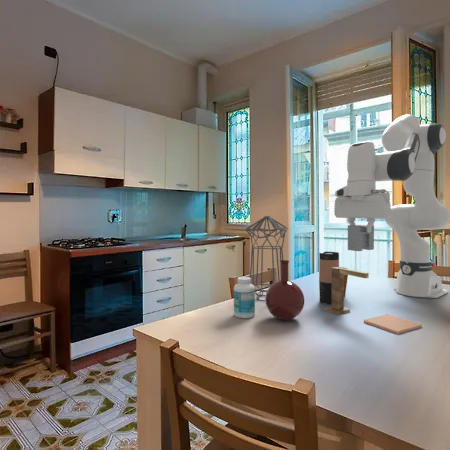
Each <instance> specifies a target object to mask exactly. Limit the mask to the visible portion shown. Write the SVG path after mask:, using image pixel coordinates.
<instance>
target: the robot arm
mask: <svg viewBox="0 0 450 450" xmlns="http://www.w3.org/2000/svg"><path fill="white" fill-rule="evenodd" d="M446 138H447V133H446V129H445V127H444V125H442V124H441V123H430V124H421V122H420V119H419V118H418V117H417V116H416V115H414V114H404V115H401V116H398V117H397V118H396V119H395V120H393V121H392V122H391V123H390V124H389V125H388V126H387V128H386V129H385V130H384V131H383V134H382V136H381V144H382V146H383V149H385V150H386V152H381V153H380V152H379V153H377V152H376V150H375V149H376V148H375V144H374V142H373V141H369V140H367V141H363V142H355V143H352V144H350V146H349V147H348V152H347V158H346V159H347V160H346V161H347V162H346V166H347V167H346V168H347V169H346V171H347V173H348V174H347V176H348V177H347V181H346V185H345V186H343V187H342V188H339V189H337V190H335V192H334V196H335V197H336V198H335V199H334V216H335V218H337V219H340V218H341V219H342V218H343V219H347V223H348V225H356V223H355V222H356V219H366V222H367V224H366V225H367V226H366V227H364V232H371V230H372V226H373V225H374V224H375V221H376V219H378V220H379V219H380V220H381V219H384V220H385V222H386V224H387V226H388V227H390V228H391V229H392V230H393V231H394V232H395V234H396V236H397V239H398V241H399V245H400V248H399V249H400V260H399V265H398V266H399V270H398V271H397V274H396V275H397V277H396V283H395V284H396V286H394V287H393V290H395V292H396V293H397V294H400V295H402V296H407V297H414V298H429V299H431V298H432V299H437V298H440V297H443V296H444V295H446V294H448V293H449V291H448V289H445V288H443V287H442V286H443V282H442V279H441V277H439V276H438V275H437V274H436V272H434V271H433V267H436V265H437V264H436V262H435V261H431V245H430V243H429V242H428V241H427V240H426V239H425V238H423V237H421V236H420V235H419V233H418V230H420V231H421V230H422V231H423V230H426V231H433V230H434V231H435V230H442V229H445V228H446V227H447V226H448V224H449V222H450V210H449V209H448V208H447V207H446V206H445V205H444V204H442V203H441V202H440V200H439V199H438V198H437V197H436V193H435V190H434V184H435V183H434V182H435V181H434V180H435V154H436V153H437V152H438V151H440V150H441V148H442V147H443V146H444V145H445V143H446ZM389 181H391V182H393V181H395V182H397V181H399V182H403V190H404V191H405V193H407V194H408V195H409V196H411V197H413V198H414V201H415V203H412V204H411V203H410V204H409V203H406V204H405V203H404V204H402V203H400V204H396V205H392V206H391V200H390V199H391V196H390V195H391V194H390V192H389V191H388V190H386V189H384V188H383V189H382V188H381V189H377V188H376V187H377V185H376V183H377V182H389Z"/></svg>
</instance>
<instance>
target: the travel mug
mask: <svg viewBox="0 0 450 450" xmlns="http://www.w3.org/2000/svg"><path fill="white" fill-rule="evenodd" d="M318 254H319V257H318V260H319V261H318V263H319V264H318V267H319V268H318V270H319V271H318V286H319V287H318V289H319V290H318V291H319V303H321V304H322V305H326V306H327V305H328V306H332V267H340V253H339V252H337V251H324V252H319V253H318Z"/></svg>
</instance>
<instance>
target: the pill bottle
mask: <svg viewBox="0 0 450 450" xmlns="http://www.w3.org/2000/svg"><path fill="white" fill-rule="evenodd" d="M250 282H251V283H250ZM254 285H255V284H254ZM254 285H253V284H252V277H251V278H250V276H239V277H237V283H236V284H235V285H234V286H233V315H234V316H235V318H239V319H251V318H253V317H255V316H256V315H255V314H256V294H255V289H256V288H255V287H256V286H255V287H254Z"/></svg>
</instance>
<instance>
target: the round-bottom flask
mask: <svg viewBox="0 0 450 450" xmlns="http://www.w3.org/2000/svg"><path fill="white" fill-rule="evenodd" d="M280 263H281V276H280V281H276V282H275V281H274V282H275V283H274V284H273V283H272V285H271V286H269V287H268V288H267V292H265V295H266V296H264V297H265V298H264V300H265V301H264V302H265V306H266V309H267V310H268V312H269V313H270V314H271V315H272V316H273V317H275V318H276V319H279V320H283V321H289V320H293V319H296V317H298V316H299V315H300V314H301V313H302V311H303V309H304V306H305V295H304V293H303V290H302V289H301V288H300V287H299V285H298V284H296V283H295V282H293V281H290V280H289V264H290V260H285V259H283V260H282V259H281V261H280V260H279V264H280Z"/></svg>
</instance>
